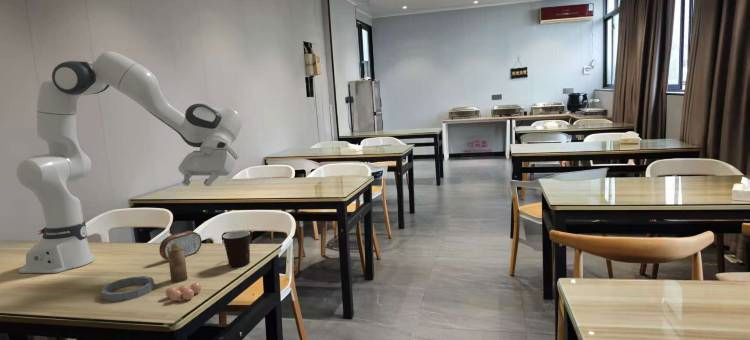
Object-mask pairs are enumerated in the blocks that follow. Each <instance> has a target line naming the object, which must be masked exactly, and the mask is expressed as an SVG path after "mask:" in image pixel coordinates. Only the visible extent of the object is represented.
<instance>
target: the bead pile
mask: <svg viewBox="0 0 750 340" xmlns="http://www.w3.org/2000/svg"><path fill="white" fill-rule="evenodd" d="M201 290H202V285H201V284H200V283H199V282H193V283H192V284H190V287H189V286H188V285H186V284H182V285H180V286H179V287H178V288H176V287H175V286H169V287H167V288H166V289H165V296H166V297H167V298H169V299H170V300H171V301H173V302H178V301H180V300H182V298H183V299H184V300H185V301H186V300H187V301H189V300H191V299H193V298H194V296H195V294H196V295H197V294H199V293H200V292H201Z"/></svg>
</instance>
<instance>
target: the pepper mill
mask: <svg viewBox="0 0 750 340" xmlns="http://www.w3.org/2000/svg"><path fill="white" fill-rule="evenodd" d="M170 249H171V250H170V251H168V267H169V273H170V274H169V275H170V282H171V283H175V282H176V283H181V282H185V281H186V280H188V271H187V263H186V257H185V254H184V249H180V245H179V244H178V243H173V244H172V245H171V247H170Z"/></svg>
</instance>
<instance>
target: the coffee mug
mask: <svg viewBox="0 0 750 340" xmlns="http://www.w3.org/2000/svg"><path fill="white" fill-rule="evenodd" d="M222 240H223V244H224V248H225V253H226V257H227V261H228V265H229V267H230V268H235V269H236V268H242V267H243V268H244V267H247V266H249V265H250V263H251V262H250V261H251V260H250V257H251V255H250V254H251V253H250V252H251V232H250V231H249V230H236V231H235V230H234V231H230V232H227V233H225V234H223V235H222Z"/></svg>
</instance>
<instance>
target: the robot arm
mask: <svg viewBox="0 0 750 340" xmlns="http://www.w3.org/2000/svg"><path fill="white" fill-rule="evenodd" d="M159 83H160V82H159V81H158V78H157V76H155V75H154V73H152V72H151V70H149V69H148V68H146V67H145V66H143V65H142V64H140V63H139V62H136V61H135V60H133V59H131V58H130V57H128V56H125V55H124V54H121V53H119V52H116V51H113V50H108V51H107V50H106V51H104V52H102V53H101V54H100V55H98V56H97V58H96V59H95V61H89V60H78V61H77V60H68V61H64V62H63V61H62V62H61V63H59V64H58V65H56V66H55V67H54V68H53V69H52V73H51V78H47V79H45V80H43V81H42V82H41V83H40V87H39V90H38V95H37V102H36V103H37V104H36V134H37V136H38V138H40V139H41V140H43V141H45V142H46V144H47V146H48V151H49V152H48V153H43V154H39V155H38V154H37V155H34V156H31V157H28V158H26V159H24V160H22V161H21V162H19V164H18V165H17V167H16V177H17V180H18V182H19V183H20V184H21V185H22V187H23V186H24V187H25V188H27V189H28V190H30V191H32V192H33V194H34V195H35V197H37V199H38V201H39V202H40V206H41V208H42V212H43V218H44V222H45V227H43V228H42V229H41V230H38V235H42V236H41V237H42V238H41V239H40V240H39V241H37V242H36V244H34V245H33V246H32V247H31V248H30V249H29V250H28V251H27V253H26V256H25V264H24V265H22V266H21V267H19V269H18V273H19V274H56V273H60V272H64V271H67V270H72V269H75V268H79V267H82V266H86V265H88V264H90V263H92V262H94V261H95V256H94V254H93V252H92V249H91V247H90V244H89V242H88V241H89V240H88V238H87V237H88V231H87V224H86V221H85V220H84V215H83V210H82V209H83V208H82V202H81V200H80V199H79V198H78V197H77V196H76V195H73V194H72V193H71V192H70V191H69V189H68V186H67V183H73V182H78V181H79V180H81V179H83V178H85V177H87V176H88V175H89V174H90V173H91V171H92V168H93V167H92V164H93V163H92V162H91V158H90V157H89V156H88V154H86V152H84V151H83V150H82V148H81V146H80V143H79V140H78V136H77V135H78V133H77V103H78V100H79V98H80V97H82V96H90V95H97V94H100V93H103V92H105V91H107V89H109V87H112V88H113V89H115V90H117V92H118V91H119V92H120V93H122V94H124V95H125V96H127V97H129V99H131V100H132V101H134V102H135V103H136V104H139V105H140V106H141V107H142V108H143V109H145V110H146V111H147V112H149V114H151V115H152V116H154V117H155V118H156V119H158V120H159V121H160V122H162V123H163V124H165V125H166V126H168V127H170V128H171V130H173V131H175V132H176V133H177V134H178V135H179V136H180V138H181V139H182V140H183V141H184V143H186V145H188V146H190V147H192V148H199V150H193V151H192V152H189V153H188V154H187V155H186V156H185V157H184V158H183V159H182V161H181V162H180V164H179V166H178V171H179V173H181V174H182V176H183V179H182V181H181V183H182V185H183V186H187V187H188V186H190V184H191V179H192V177H193V176H196V177H197V176H202V177H203V176H204V177H205V176H207V177H208V176H209V177H208V178H205V180H204V181H203V185H204V186H205V187H211V186H212V184H213V182H215V181H216V180H217V179H219V176H221V177H222V176H229V175H230V174H231V173H232V171H233V169H234V167H235V165H236V161H237V160H238V159H239V153H238V152H237V151H236V149H235V148H234V147H232V144H233V142H235V141H236V140H237V137H238V136H239V133H240V131H241V128H242V124H243V120H242V117H241V115H240V114H239V113H238V111H236V110H235V109H233V108H232V107H223V108H222V107H221V108H219V107H212V106H209V105H207V104H204V103H194V104H192V105H190V106H189V107H187V109H185V114H183V113H182V112H180V111H179V110H178V109H177V108H175V107H174V106H172V105H171V104H170V103H169V102H168V101H167V100H166V98H165V96H164V94H163V92H162V88H161V87H160V84H159ZM190 178H191V179H190Z"/></svg>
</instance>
